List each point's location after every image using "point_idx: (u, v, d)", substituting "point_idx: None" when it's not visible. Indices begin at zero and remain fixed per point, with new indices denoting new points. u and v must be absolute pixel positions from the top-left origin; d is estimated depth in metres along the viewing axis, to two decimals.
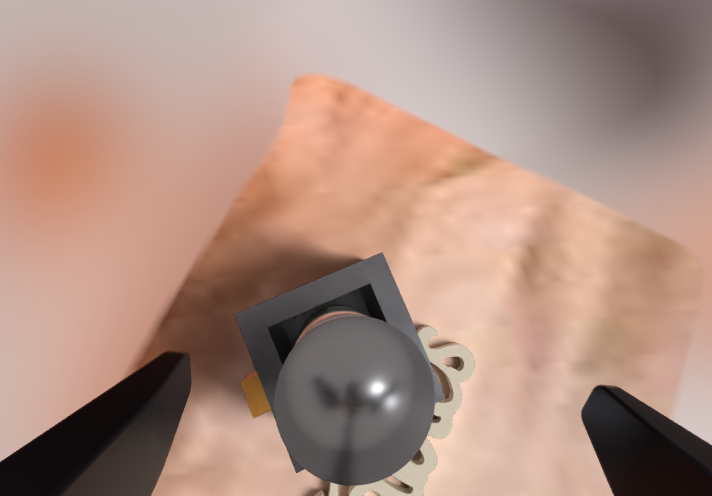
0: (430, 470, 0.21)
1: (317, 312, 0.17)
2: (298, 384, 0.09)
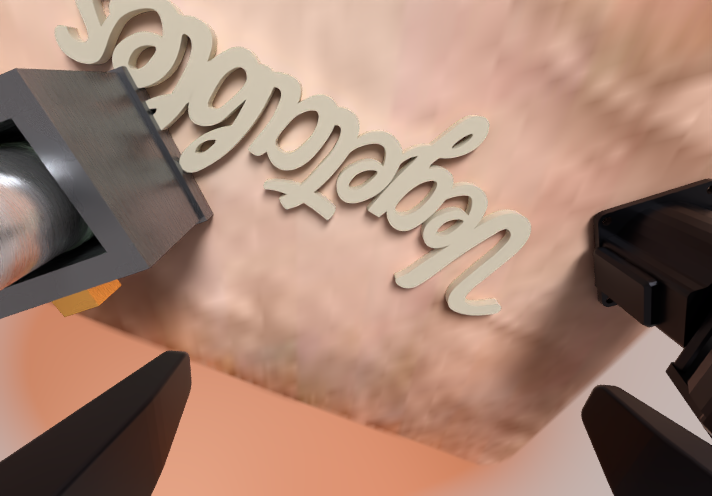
0: (253, 59, 0.16)
1: None
2: None
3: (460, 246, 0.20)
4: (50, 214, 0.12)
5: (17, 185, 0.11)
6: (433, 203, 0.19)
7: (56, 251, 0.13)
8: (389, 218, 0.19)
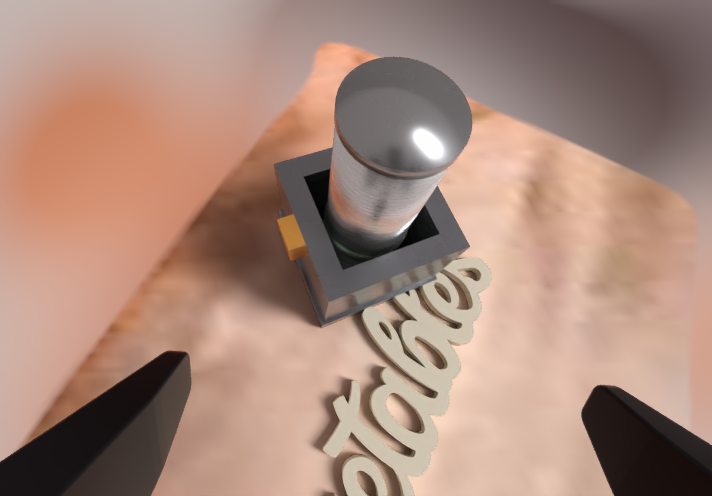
0: (454, 375, 0.21)
1: None
2: (355, 95, 0.11)
3: None
4: (379, 242, 0.16)
5: (405, 230, 0.16)
6: None
7: (345, 234, 0.16)
8: None
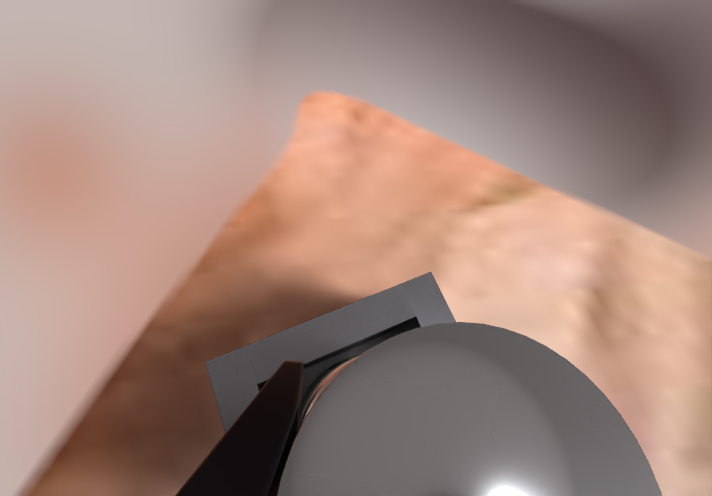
0: None
1: (334, 364, 0.11)
2: (334, 493, 0.04)
3: None
4: None
5: None
6: None
7: None
8: None
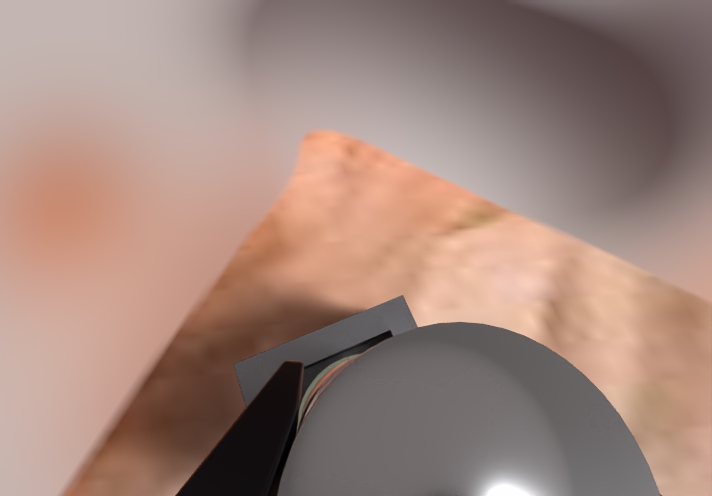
0: None
1: None
2: (334, 492, 0.04)
3: None
4: None
5: None
6: None
7: None
8: None
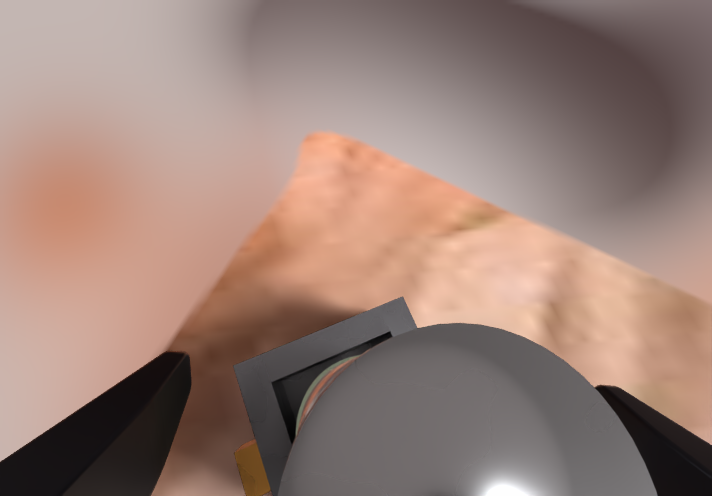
0: None
1: (334, 364, 0.11)
2: (334, 491, 0.04)
3: None
4: None
5: None
6: None
7: None
8: None
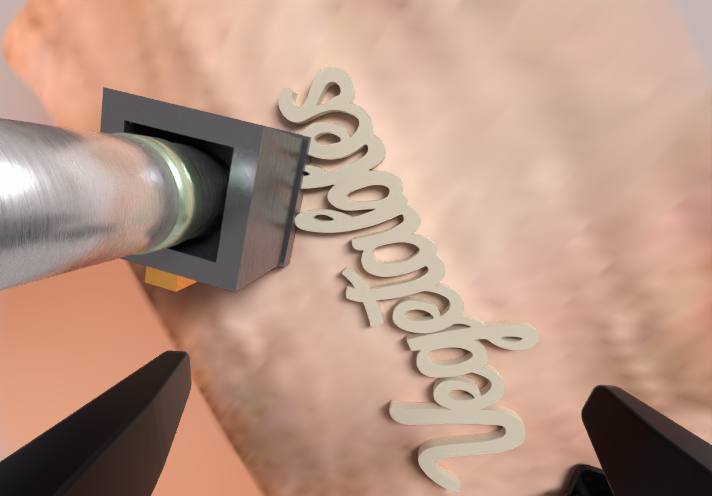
0: (400, 188, 0.20)
1: None
2: None
3: (459, 416, 0.22)
4: (137, 232, 0.11)
5: (132, 195, 0.11)
6: (460, 369, 0.21)
7: (113, 259, 0.12)
8: (418, 357, 0.21)
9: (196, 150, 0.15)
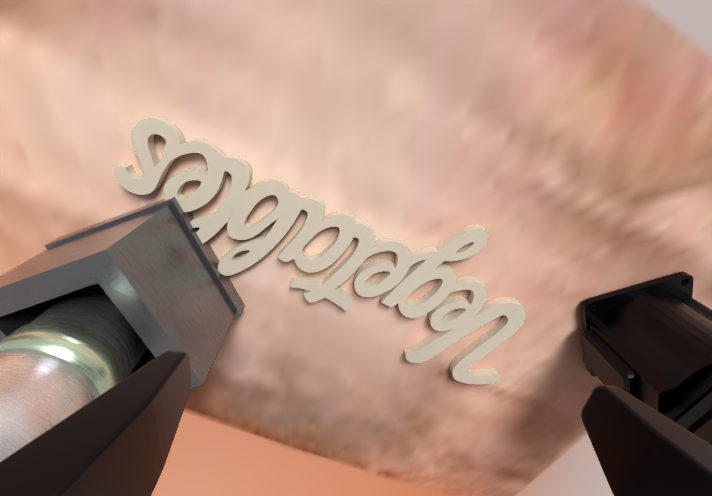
0: (284, 188, 0.19)
1: None
2: None
3: (463, 329, 0.23)
4: None
5: (26, 419, 0.11)
6: (439, 296, 0.22)
7: None
8: (400, 308, 0.22)
9: (72, 302, 0.15)
